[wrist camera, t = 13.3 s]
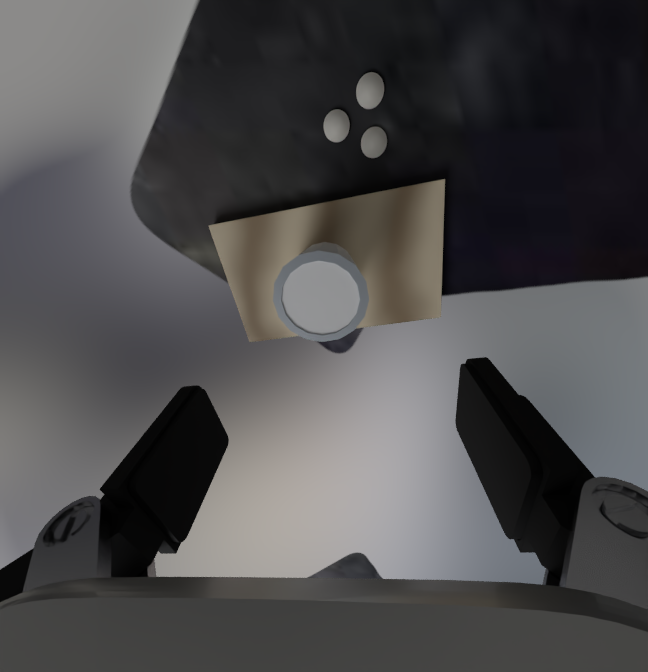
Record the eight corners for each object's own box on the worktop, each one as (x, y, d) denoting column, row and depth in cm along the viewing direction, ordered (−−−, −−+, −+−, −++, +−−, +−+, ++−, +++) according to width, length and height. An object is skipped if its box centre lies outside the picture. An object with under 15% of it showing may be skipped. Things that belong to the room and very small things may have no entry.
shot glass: (327, 320, 27) (322, 358, 21) (274, 274, 25) (253, 301, 19) (378, 272, 25) (390, 300, 19) (323, 216, 23) (317, 227, 17)
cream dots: (382, 69, 19) (383, 68, 19) (387, 155, 21) (387, 154, 21) (317, 86, 20) (317, 85, 19) (329, 167, 22) (329, 167, 22)
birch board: (440, 179, 22) (445, 179, 21) (437, 312, 28) (440, 317, 27) (214, 224, 25) (208, 225, 24) (253, 336, 30) (249, 342, 29)
